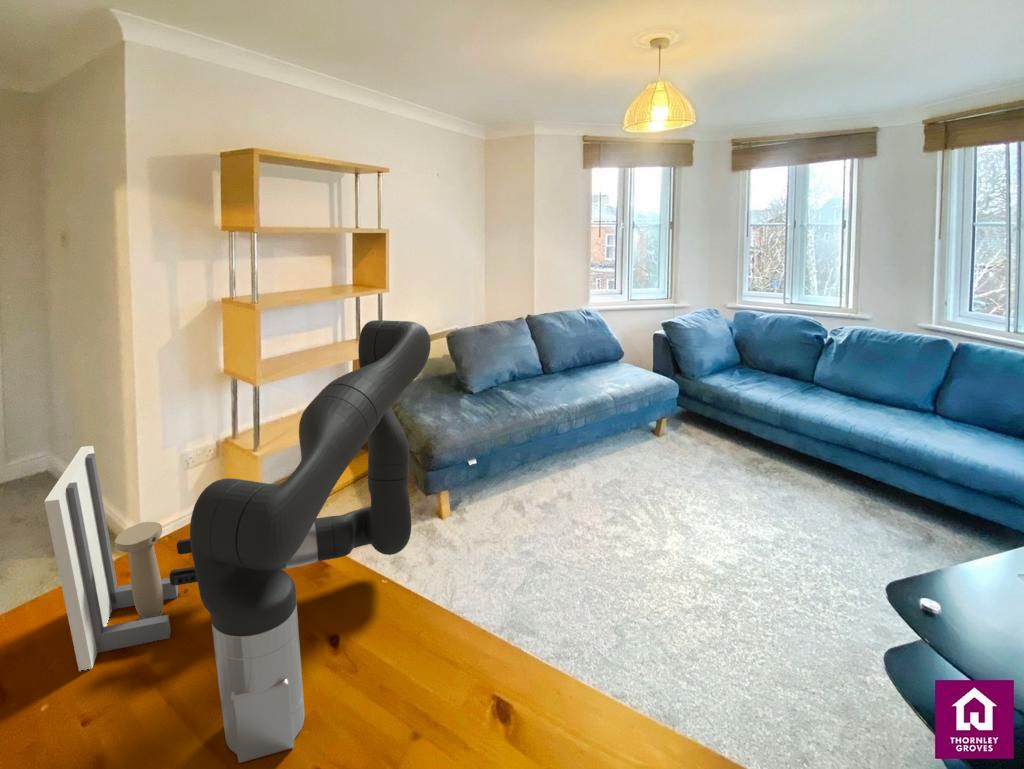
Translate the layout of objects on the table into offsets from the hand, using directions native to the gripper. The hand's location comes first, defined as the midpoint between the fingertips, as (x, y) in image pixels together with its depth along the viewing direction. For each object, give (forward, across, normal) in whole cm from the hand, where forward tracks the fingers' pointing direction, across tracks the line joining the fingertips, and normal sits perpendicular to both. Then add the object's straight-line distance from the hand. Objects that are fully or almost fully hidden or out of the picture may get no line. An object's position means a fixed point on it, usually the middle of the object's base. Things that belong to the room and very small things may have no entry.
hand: (173, 562), depth 91 cm
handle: (+4, 0, +9) cm, 10 cm away
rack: (+6, 0, +9) cm, 11 cm away
